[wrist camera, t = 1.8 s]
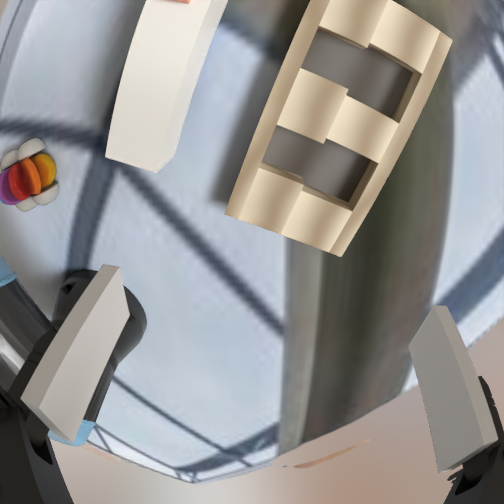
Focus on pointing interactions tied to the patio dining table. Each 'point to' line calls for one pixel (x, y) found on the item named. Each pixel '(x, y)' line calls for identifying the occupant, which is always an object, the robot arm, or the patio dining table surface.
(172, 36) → the power strip
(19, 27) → the patio dining table surface
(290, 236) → the square hole board
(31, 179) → the rainbow stacked discs
